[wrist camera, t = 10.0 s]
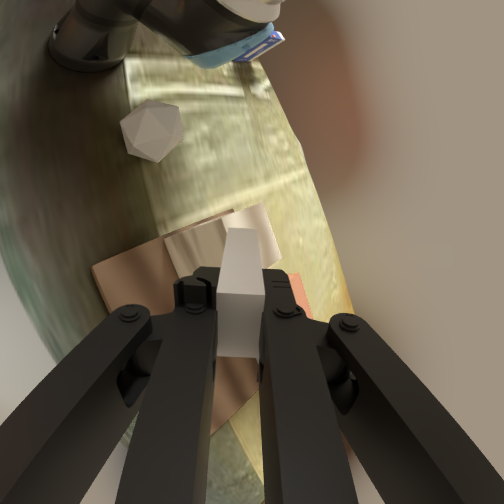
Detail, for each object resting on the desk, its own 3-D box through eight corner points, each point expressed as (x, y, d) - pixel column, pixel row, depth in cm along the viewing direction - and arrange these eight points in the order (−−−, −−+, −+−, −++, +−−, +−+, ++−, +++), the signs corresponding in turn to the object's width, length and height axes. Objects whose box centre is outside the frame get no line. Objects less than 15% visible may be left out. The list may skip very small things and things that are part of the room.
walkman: (234, 62, 54) (272, 36, 46) (229, 53, 53) (266, 28, 45) (251, 61, 59) (286, 39, 51) (246, 54, 58) (281, 31, 50)
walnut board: (191, 443, 34) (197, 447, 33) (89, 267, 29) (92, 266, 28) (281, 356, 52) (287, 357, 51) (226, 210, 46) (233, 208, 45)
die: (155, 179, 38) (205, 136, 36) (119, 167, 29) (177, 112, 27) (134, 143, 38) (179, 102, 36) (99, 127, 30) (150, 77, 28)
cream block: (183, 287, 36) (245, 283, 28) (163, 239, 35) (221, 218, 27) (218, 267, 41) (282, 257, 33) (201, 223, 40) (262, 202, 32)
